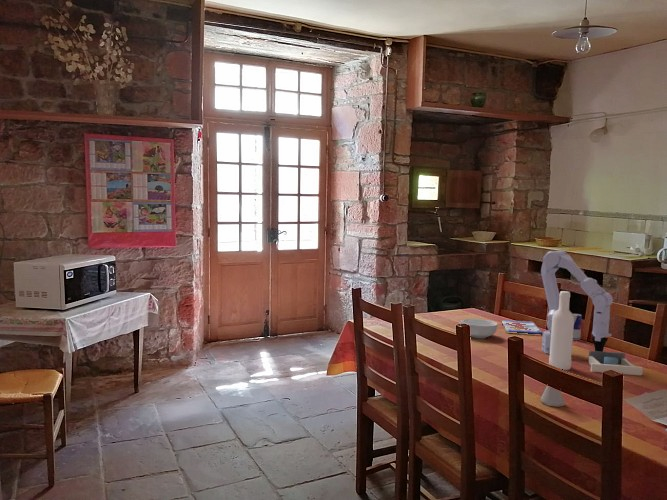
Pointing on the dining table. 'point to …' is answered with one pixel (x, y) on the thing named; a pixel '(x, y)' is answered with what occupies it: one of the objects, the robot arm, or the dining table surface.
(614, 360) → the light blue block
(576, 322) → the energy drink
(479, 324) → the cereal bowl
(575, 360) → the dining table surface
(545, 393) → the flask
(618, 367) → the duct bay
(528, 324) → the blue white book
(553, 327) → the bottle
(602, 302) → the robot arm
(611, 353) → the duct cover
